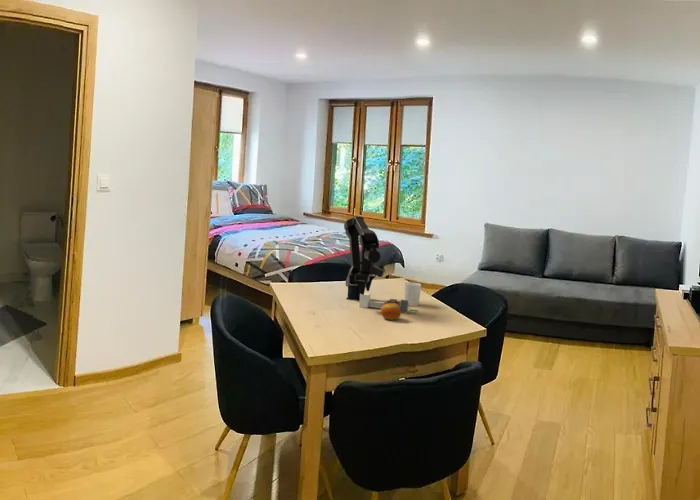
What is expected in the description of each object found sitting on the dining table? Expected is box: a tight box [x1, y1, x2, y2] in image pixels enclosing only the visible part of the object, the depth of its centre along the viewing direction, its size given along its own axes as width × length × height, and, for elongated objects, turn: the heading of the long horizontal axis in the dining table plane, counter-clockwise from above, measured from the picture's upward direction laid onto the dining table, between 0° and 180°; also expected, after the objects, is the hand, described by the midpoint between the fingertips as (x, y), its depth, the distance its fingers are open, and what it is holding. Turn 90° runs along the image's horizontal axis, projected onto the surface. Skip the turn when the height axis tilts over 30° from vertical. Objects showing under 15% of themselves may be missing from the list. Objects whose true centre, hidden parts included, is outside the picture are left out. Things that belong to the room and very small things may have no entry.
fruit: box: [380, 303, 402, 321], centre depth 266 cm, size 8×8×8 cm
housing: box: [384, 298, 419, 315], centre depth 282 cm, size 14×7×4 cm, turn 73°
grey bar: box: [358, 292, 399, 309], centre depth 285 cm, size 18×4×6 cm, turn 74°
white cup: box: [403, 281, 422, 307], centre depth 296 cm, size 8×8×10 cm
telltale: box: [399, 299, 409, 313], centre depth 281 cm, size 3×3×5 cm
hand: (365, 292), depth 286 cm, fingers open, 9 cm apart
